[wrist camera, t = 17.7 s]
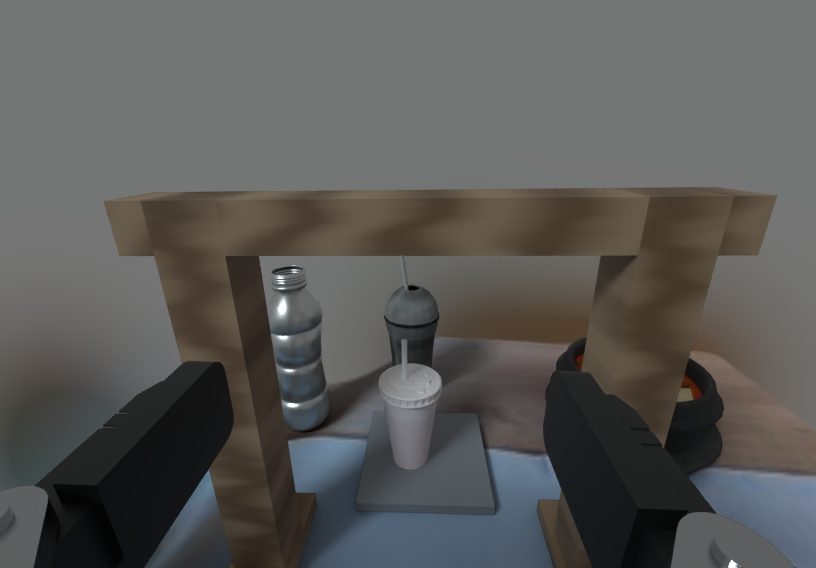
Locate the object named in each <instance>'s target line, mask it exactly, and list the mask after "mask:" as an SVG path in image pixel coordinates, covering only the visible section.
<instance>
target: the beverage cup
mask: <svg viewBox="0 0 816 568" xmlns="http://www.w3.org/2000/svg"><path fill="white" fill-rule="evenodd" d="M400 261H401V268H402V275H403V282H404V286H403V287H401V288H399V289H397V290H396V291H395V292H394V293H393V294H392V295H391V296H390V298H389V300H388V303H387V306H386V311H385V316H384V318H385V321H386V325H387V329H388V332H389V337H390V345H391V352H392V361H393V366H396V365H400V364H402V343H401V340H403V339H406V340H407V364H408V363H413V364H421V365H425V366H428V367H430V368H431V364H432V354H433V345H434V335H435V332H436V328H437V324H438V323H437V322H438V319H439V312H438V307H437V303H436V301H435V299H434V297H433V296H432V295H431V294H430V292H429V291H427V290H426V289H424V288H423V287H420V286H417V285H408V282H407V275H406V268H405V261H404V256H400Z"/></svg>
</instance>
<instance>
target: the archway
mask: <svg viewBox="0 0 816 568" xmlns="http://www.w3.org/2000/svg"><path fill="white" fill-rule="evenodd" d="M776 198H777V196H775V195H768V194H761V193H754V192H747V191H740V190H733V189H726V188H719V187H697V188H696V187H687V188H685V187H684V188H582V189H581V188H578V189H576V188H572V189H472V190H471V189H466V190H463V189H461V190H350V191H243V192H242V191H238V192H154V193H148V194H142V195H136V196H130V197H124V198H119V199H113V200H107V201H104V204H105V207H106V211H107V214H108V217H109V221H110V224H111V228H112V231H113V235H114V239H115V242H116V246H117V249H118V252H119V256H155V260H156V264H157V268H158V271H159V276H160V280H161V283H162V287H163V292H164V295H165V299H166V303H167V307H168V311H169V315H170V319H171V323H172V327H173V331H174V334H175V339H176V342H177V346H178V350H179V354H180V358H181V362H182V364H183V363H184V362H186V361H211V362H220V363H222V364H223V366H224V368H225V372H226V377H227V382H228V387H229V392H230V397H231V402H232V407H233V412H234V422H233V428H232V431H231V434H230V437H229V439H228V440H227V442H226V443H225V445H224V446H223V448H222V449H221V451H220V453H219V454H218V456H217V457H216V459H215V460H214V462H213V463H212V465H211V466H210V468H209V472H210V476H211V480H212V483H213V487H214V491H215V495H216V499H217V503H218V507H219V511H220V515H221V519H222V523H223V527H224V530H225V534H226V538H227V542H228V546H229V550H230V554H231V558H232V561H231V563H230V565H229V567H228V568H298V565H299V562H300V558H301V555H302V552H303V549H304V545H305V542H306V539H307V535H308V532H309V529H310V525H311V522H312V519H313V516H314V512H315V509H316V506H317V502H316V495H315V493H296V492H295V485H294V479H293V472H292V466H291V460H290V453H289V447H288V440H287V434H286V428H285V421H284V415H283V408H282V402H281V396H280V389H279V383H278V376H277V370H276V364H275V357H274V351H273V344H272V338H271V331H270V325H269V319H268V312H267V306H266V300H265V294H264V287H263V280H262V274H261V268H260V261H259V256H479V255H480V256H530V255H531V256H532V255H533V256H536V255H537V256H539V255H541V256H545V255H546V256H552V255H553V256H556V255H558V256H559V255H560V256H575V255H576V256H578V255H579V256H584V255H585V256H587V255H589V256H592V255H593V256H596V255H597V256H599V255H600V256H601V258H600V264H599V269H598V275H597V281H596V287H595V293H594V299H593V305H592V311H591V317H590V323H589V329H588V335H587V340H586V346H585V352H584V358H583V364H582V370H581V372H589V373H590V374H591V375H592V376H593V378H594V379H595V380H596V382H597V383H598V385H599V386H600V387H601V389H602V390H603V392H604V393H605V394H613V395H615V396H617V397H618V398H620V399H621V400H622V401H624V402H625V403H626V404H628V405H629V406H631V407H632V408H633V409H635V410H636V411H637V413H638V414H639V415H640V417H641V418H642V419H643V420H644V422H645V423H646V424H647V425H648V427H649V428H650V432H653V433H654V434H655V436H656V437H657V438H658V440H659V441H660V442H661V443H662V447H663V448H664V445H665V441H666V438H667V434H668V431H669V427H670V424H671V420H672V417H673V413H674V409H675V406H676V402H677V399H678V395H679V392H680V388H681V384H682V381H683V377H684V374H685V370H686V367H687V363H688V359H689V356H690V352H691V349H692V345H693V341H694V338H695V335H696V331H697V327H698V324H699V320H700V317H701V313H702V310H703V306H704V302H705V299H706V295H707V292H708V288H709V284H710V281H711V278H712V273H713V270H714V267H715V263H716V260H717V256H718V255H758V254H759V251H760V248H761V245H762V241H763V238H764V235H765V232H766V229H767V226H768V223H769V220H770V217H771V213H772V210H773V207H774V204H775V201H776ZM537 514H538V517H539V520H540V524H541V527H542V530H543V534H544V537H545V540H546V544H547V547H548V550H549V553H550V557H551V560H552V563H553V567H554V568H592V565H591V563H590V560H589V558H588V555H587V553H586V550H585V548H584V545H583V542H582V540H581V537H580V535H579V532H578V530H577V527H576V525H575V522H574V520H573V517H572V515H571V512H570V509H569V507H568V504H567V502H566V499H565V497H564V494H563V492H562V489H561V494H560V499H559V500H538V506H537Z"/></svg>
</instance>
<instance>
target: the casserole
mask: <svg viewBox="0 0 816 568" xmlns="http://www.w3.org/2000/svg"><path fill="white" fill-rule="evenodd" d="M586 340H587V337H586V338H582V339H579V340H577V341H575V342H574V343H572V344H571V345H570V346H569V348H568V350H567V351H566V352H564V353H563V354H562V355H561V356H560V357H559V359H558V361H557V363H556V371H573V372H581V370H582V364H583V358H584V352H585V346H586ZM549 386H550V383H549V385H548V387H547V389H546V396H545V398H546V402H547V399H548V392H549ZM723 410H724V406H723V402H722V399H721V397H720V396H719V394H718V392H717V389H716V384H715V381H714V379H713V378H712V376H711V375H710V374H709V373H708V372H707V371H706V370H705V369H704V368H703V367H702V366H701V365H699V364H698V363H697V362H695V361H694V360H692V359H690V358H689V359H688V363H687V367H686V370H685V374H684V377H683V381H682V384H681V388H680V392H679V395H678V399H677V402H676V406H675V409H674V413H673V417H672V420H671V424H670V427H669V431H668V434H667V438H666V441H665V445H664V448H666V450H667V451H668V452H669V454H670V455H671V456H672V457H673V459H674V460H675V461H676V463H677V464H678V465H679V466H680V468H681V469H682V470H683V471H684V473H685V474H686V475H687V476H688V475H689V474H690V473H692V472H694V471H696V470H698V469H700V468H702V467H704V466H706V465H708V464H710V463H712V462H714V460H715V459H716V458H717V457H718V456H719V455H720V452H721V448H722V440H721V434H720V432H719V430H718V428H717V427H716V425H715V423H716V422H717V421H718V420H719V419H720V418H721V417H722V414H723Z"/></svg>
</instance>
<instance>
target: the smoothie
mask: <svg viewBox="0 0 816 568" xmlns="http://www.w3.org/2000/svg"><path fill="white" fill-rule="evenodd" d="M401 343H402V364H400V365H396V366H393V367H391V368H389V369H387V370H386V371H384V372H383V373H382V374H381V376H380V378H379V387H378V390H379V394H380V396H381V398H382V399H383V403H384V408H385V413H386V419H387V424H388V430H389V436H390V441H391V447H392V452H393V458H394V461H395V463H396V464H397V465H398V466H399V467H401V468H403V469H407V470H414V469H418V468H420V467H422V466H423V465H424V464H425V463H426V461H427V458H428V452H429V446H430V440H431V434H432V428H433V423H434V417H435V411H436V406H437V399H438V398H439V397H440V395H441V393H442V380H441V377H440V375H439V374H438V373H437V372H436V371H435V370H433V369H432V368H430V367H428V366H425V365H421V364H413V363H408V364H407V340H406V339H403V340H401Z"/></svg>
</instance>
